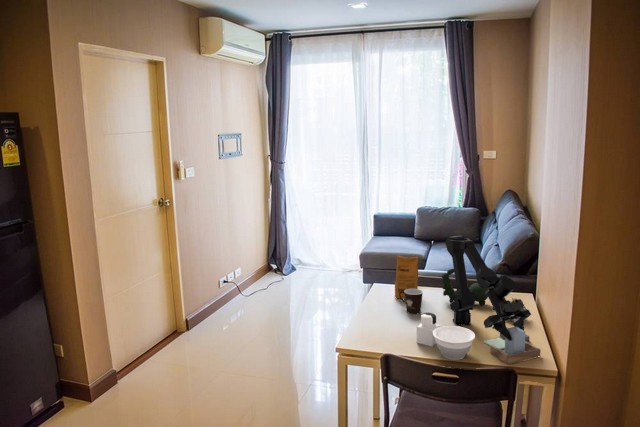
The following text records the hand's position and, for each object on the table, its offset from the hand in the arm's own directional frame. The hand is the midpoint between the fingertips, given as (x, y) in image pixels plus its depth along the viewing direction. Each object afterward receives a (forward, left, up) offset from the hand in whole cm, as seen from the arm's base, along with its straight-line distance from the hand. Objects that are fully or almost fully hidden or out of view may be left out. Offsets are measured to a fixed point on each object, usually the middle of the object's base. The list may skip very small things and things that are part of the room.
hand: (517, 339), depth 187 cm
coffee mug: (-30, +50, -7) cm, 59 cm away
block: (0, +1, -7) cm, 7 cm away
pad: (-3, +10, -7) cm, 13 cm away
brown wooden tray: (0, +1, -7) cm, 7 cm away
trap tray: (+5, +15, -7) cm, 17 cm away
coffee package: (-29, +69, -7) cm, 76 cm away
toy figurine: (-1, +56, -7) cm, 57 cm away
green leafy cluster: (+12, +35, -7) cm, 38 cm away
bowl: (-23, +3, -7) cm, 25 cm away
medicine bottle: (-30, +15, -7) cm, 35 cm away
